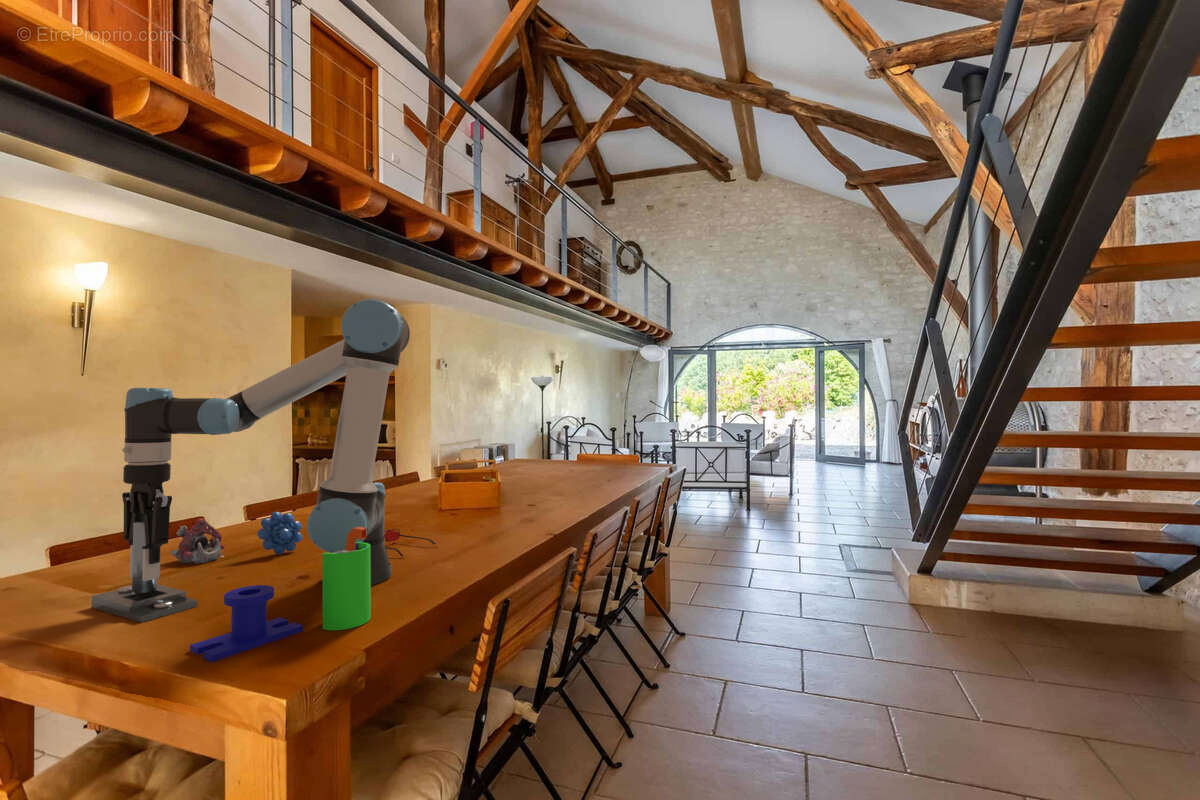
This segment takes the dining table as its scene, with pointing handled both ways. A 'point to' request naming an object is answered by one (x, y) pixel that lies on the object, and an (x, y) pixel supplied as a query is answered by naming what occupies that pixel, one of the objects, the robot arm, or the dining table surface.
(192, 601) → the slotted grey clamp plate
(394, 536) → the glasses
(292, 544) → the grapes
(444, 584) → the dining table surface
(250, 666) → the dining table surface
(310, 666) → the dining table surface
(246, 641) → the mount
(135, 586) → the pin
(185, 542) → the red grey peaked figurine
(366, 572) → the green half cylinder
